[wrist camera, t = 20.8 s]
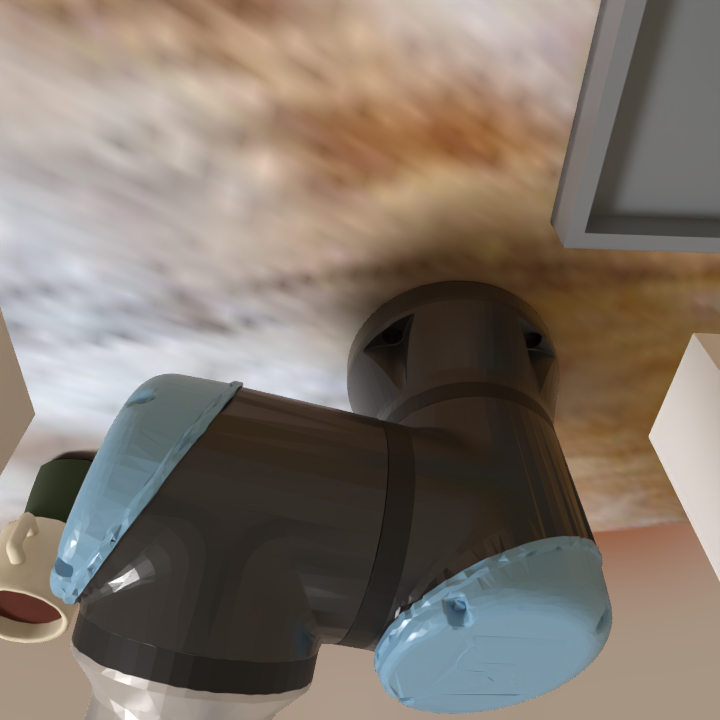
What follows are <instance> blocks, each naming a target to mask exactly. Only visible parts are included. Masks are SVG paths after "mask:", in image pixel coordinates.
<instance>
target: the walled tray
mask: <svg viewBox="0 0 720 720" xmlns="http://www.w3.org/2000/svg"><path fill="white" fill-rule="evenodd" d="M550 222H551V224H552V226H553V228H554V230H555V232H556V234H557V236H558V238H559V240H560V242H561V244H562V246H563V247H564V248H582V249H610V250H639V251H667V252H695V253H720V0H601V5H600V9H599V13H598V17H597V22H596V26H595V30H594V35H593V39H592V43H591V48H590V52H589V56H588V61H587V65H586V69H585V74H584V78H583V82H582V87H581V91H580V95H579V100H578V104H577V108H576V113H575V117H574V121H573V126H572V130H571V134H570V139H569V143H568V147H567V152H566V156H565V160H564V165H563V169H562V173H561V178H560V182H559V186H558V191H557V195H556V199H555V204H554V208H553V212H552V216H551V221H550Z"/></svg>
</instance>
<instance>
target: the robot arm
mask: <svg viewBox="0 0 720 720" xmlns="http://www.w3.org/2000/svg"><path fill="white" fill-rule="evenodd" d="M558 383H559V365H558V358H557V354H556V351H555V348H554V345H553V343H552V340H551V338H550V335H549V332H548V330H547V328H546V326H545V324H544V322H543V321H542V319H541V318H540V317H539V315H538V314H537V313H536V312H535V311H534V310H533V309H532V308H531V307H530V306H529V305H528V304H527V303H526V302H524V301H523V300H522V299H520V298H518V297H517V296H515V295H513V294H511V293H510V292H507V291H505V290H503V289H500V288H497V287H494V286H491V285H487V284H482V283H476V282H466V281H452V282H441V283H435V284H430V285H426V286H422V287H419V288H416V289H413V290H410V291H408V292H405V293H403V294H401V295H399V296H397V297H396V298H394V299H392V300H390V301H389V302H387V303H386V304H384V305H383V306H382V307H380V308H379V309H378V310H377V311H376V312H375V313H373V314H372V315H371V317H370V318H369V319H368V320H367V321H366V322H365V323H364V324H363V326H362V327H361V329H360V330H359V332H358V334H357V335H356V337H355V339H354V341H353V344H352V346H351V349H350V353H349V358H348V367H347V390H348V396H349V401H350V405H351V408H352V411H353V413H351V412H347V411H343V410H338V409H334V408H330V407H325V406H321V405H317V404H313V403H308V402H304V401H300V400H295V399H291V398H287V397H283V396H278V395H274V394H270V393H265V392H261V391H257V390H252V389H248V388H244V387H242V386H243V383H242V382H238V381H233V382H231V383H224V382H218V381H213V380H207V379H202V378H196V377H191V376H186V375H180V374H163V375H159V376H156V377H153V378H151V379H149V380H148V381H146V382H145V383H143V384H142V385H141V386H140V387H138V388H137V389H136V390H135V392H134V393H133V394H132V395H131V396H130V397H129V399H128V400H127V401H126V403H125V404H124V406H123V407H122V409H121V410H120V412H119V414H118V415H117V417H116V419H115V420H114V422H113V424H112V426H111V427H110V429H109V431H108V433H107V435H106V437H105V438H104V440H103V442H102V444H101V446H100V448H99V450H98V452H97V454H96V456H95V458H94V460H93V462H92V464H91V466H90V469H89V471H88V473H87V475H86V477H85V479H84V482H83V484H82V486H81V489H80V491H79V493H78V495H77V498H76V500H75V503H74V505H73V508H72V510H71V512H70V515H69V518H68V520H67V523H66V525H65V528H64V531H63V534H62V537H61V540H60V543H59V546H58V555H57V558H56V561H55V564H54V566H53V569H52V571H51V575H50V588H51V590H52V593H53V594H54V595H55V596H57V597H59V598H61V599H63V601H64V603H65V604H74V605H75V604H76V603H80V610H79V614H78V618H77V621H76V625H75V629H74V632H73V636H72V639H71V643H70V648H71V652H72V654H73V655H74V657H75V659H76V660H77V662H78V663H79V665H80V666H81V668H82V669H83V671H84V673H85V674H86V676H87V677H88V679H89V680H90V682H91V685H92V689H93V690H92V694H91V698H90V701H89V705H88V709H87V712H86V716H85V720H272V719H273V717H274V716H275V715H276V713H278V712H279V711H280V710H282V709H283V708H285V707H286V706H287V705H289V704H290V703H292V702H293V701H294V700H296V699H297V698H298V697H300V696H301V695H303V694H304V693H305V692H307V691H308V689H309V688H310V686H311V683H312V678H313V673H314V668H315V664H316V659H317V654H318V651H319V648H320V646H321V644H336V645H343V646H348V647H354V648H360V649H365V650H370V651H374V652H375V658H374V667H375V671H376V672H377V673H378V676H379V678H380V681H381V684H382V686H383V688H384V689H385V691H386V692H387V693H388V694H389V695H390V696H391V697H393V698H398V700H399V702H401V703H403V704H404V705H406V706H407V707H410V708H413V709H417V710H421V711H426V712H432V713H448V714H456V713H457V714H458V713H474V712H483V711H489V710H495V709H499V708H503V707H507V706H512V705H516V704H519V703H521V702H525V701H527V700H529V699H533V698H536V697H539V696H541V695H543V694H546V693H548V692H550V691H552V690H554V689H556V688H558V687H560V686H561V685H563V684H565V683H567V682H568V681H570V680H571V679H573V678H574V677H576V676H577V675H578V674H580V673H581V672H582V671H583V670H584V669H585V668H586V667H588V666H589V665H590V664H591V663H592V662H593V660H594V659H595V658H596V657H597V656H598V655H599V653H600V652H601V650H602V649H603V647H604V645H605V643H606V641H607V639H608V636H609V633H610V630H611V625H612V607H611V603H610V599H609V595H608V592H607V587H606V583H605V580H604V576H603V572H602V568H601V567H602V555H601V553H600V551H599V550H598V547H597V546H596V543H595V541H594V537H593V535H592V532H591V529H590V526H589V524H588V521H587V518H586V515H585V512H584V510H583V507H582V504H581V501H580V499H579V496H578V493H577V490H576V488H575V485H574V482H573V479H572V476H571V474H570V471H569V468H568V465H567V463H566V460H565V457H564V454H563V452H562V449H561V446H560V443H559V440H558V438H557V435H556V432H555V430H554V426H553V423H554V415H555V407H556V399H557V391H558ZM34 415H35V412H34V409H33V406H32V403H31V400H30V397H29V394H28V391H27V388H26V385H25V382H24V378H23V375H22V372H21V369H20V366H19V363H18V360H17V357H16V354H15V351H14V348H13V345H12V342H11V339H10V336H9V333H8V330H7V327H6V324H5V321H4V318H3V315H2V312H1V309H0V475H1V473H2V471H3V470H4V468H5V466H6V464H7V463H8V461H9V459H10V457H11V456H12V454H13V452H14V450H15V449H16V447H17V445H18V443H19V442H20V440H21V438H22V436H23V435H24V433H25V431H26V429H27V428H28V426H29V424H30V422H31V421H32V419H33V417H34ZM648 437H649V439H650V441H651V443H652V445H653V447H654V449H655V451H656V453H657V455H658V457H659V459H660V461H661V463H662V465H663V467H664V469H665V471H666V473H667V476H668V478H669V480H670V482H671V484H672V486H673V488H674V490H675V492H676V494H677V496H678V498H679V500H680V502H681V504H682V506H683V508H684V510H685V512H686V514H687V516H688V518H689V520H690V522H691V524H692V526H693V528H694V530H695V533H696V534H697V537H698V539H699V541H700V543H701V545H702V546H703V549H704V551H705V553H706V555H707V557H708V559H709V561H710V563H711V565H712V567H713V569H714V571H715V573H716V575H717V577H718V579H719V581H720V334H710V333H693V335H692V337H691V339H690V342H689V344H688V346H687V349H686V351H685V353H684V356H683V358H682V360H681V362H680V365H679V367H678V369H677V372H676V374H675V376H674V379H673V381H672V383H671V386H670V388H669V390H668V392H667V395H666V397H665V399H664V402H663V404H662V406H661V409H660V411H659V413H658V416H657V418H656V420H655V423H654V425H653V427H652V429H651V432H650V434H649V436H648Z"/></svg>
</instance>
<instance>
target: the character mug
mask: <svg viewBox="0 0 720 720" xmlns="http://www.w3.org/2000/svg"><path fill="white" fill-rule="evenodd" d="M91 464H92V462H90V461H88V460H78V459H62V460H52V461H50V462H48V463H46V464H44V465H42V466H41V468H40V470H39V472H38V475H37V477H36V480H35V482H34V485H33V488H32V490H31V493H30V496H29V499H28V502H27V506H26V509H25V512H24V514H22V515H21V516H20V518H19V519H17V520H15V521H12V522H9V523H8V525H7V526H6V527H5V528H4V529H3V531H2V532H1V533H0V638H2V639H5V640H8V641H16V642H22V643H38V642H47V641H50V640H53V639H55V638H58V637H60V636H61V635H62V634H64V633H65V632H66V631H67V630H68V627H69V625H70V623H71V620H72V617H73V615H74V612H75V610H76V608H77V606H78V603H76V604H75V605H74V604H65V603H64V601H63V599H61V598H59V597H57V596H55V595H54V594H53V593H52V590H51V588H50V575H51V571H52V569H53V566H54V564H55V561H56V558H57V555H58V546H59V543H60V540H61V537H62V534H63V531H64V528H65V525H66V523H67V520H68V518H69V515H70V512H71V510H72V508H73V505H74V503H75V500H76V498H77V495H78V493H79V491H80V489H81V486H82V484H83V482H84V479H85V477H86V475H87V473H88V471H89V469H90V466H91Z"/></svg>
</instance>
